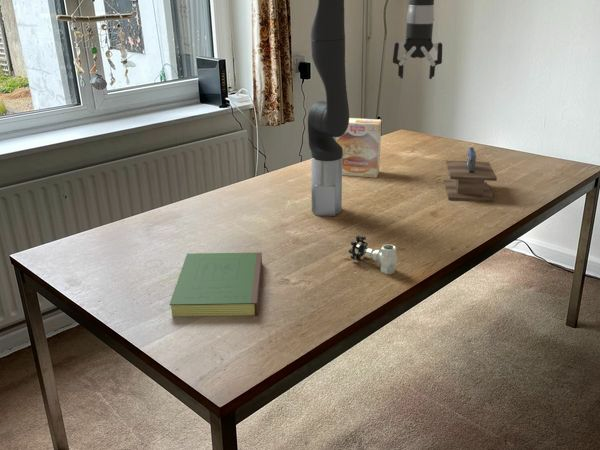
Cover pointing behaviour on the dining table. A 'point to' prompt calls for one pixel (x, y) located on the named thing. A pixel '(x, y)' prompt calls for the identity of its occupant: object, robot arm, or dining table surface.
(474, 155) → the mini dv tape
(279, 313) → the dining table surface
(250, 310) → the hardcover book
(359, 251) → the valve
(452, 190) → the stand
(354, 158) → the coffeecake box
